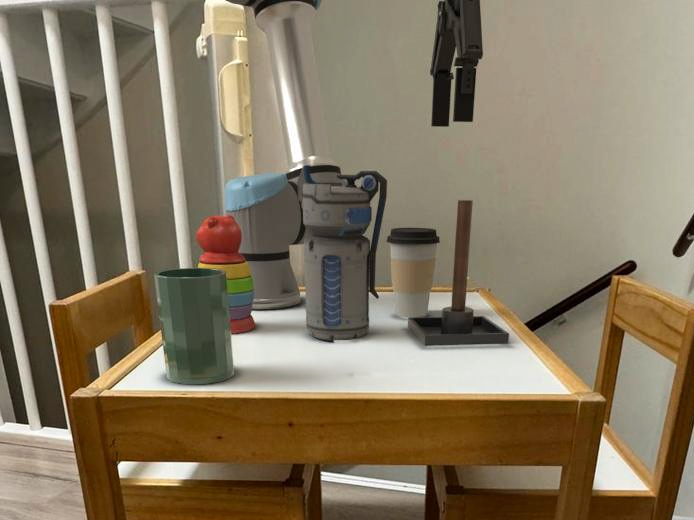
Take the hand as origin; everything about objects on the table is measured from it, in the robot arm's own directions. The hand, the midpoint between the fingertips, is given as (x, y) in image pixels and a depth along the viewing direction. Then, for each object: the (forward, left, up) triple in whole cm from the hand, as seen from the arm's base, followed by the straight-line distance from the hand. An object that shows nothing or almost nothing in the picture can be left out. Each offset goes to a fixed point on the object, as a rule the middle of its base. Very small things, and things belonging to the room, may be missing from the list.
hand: (450, 124), depth 101 cm
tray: (+7, +1, -31) cm, 32 cm away
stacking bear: (-4, -36, -31) cm, 48 cm away
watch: (-16, +8, -31) cm, 36 cm away
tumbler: (+24, -38, -31) cm, 54 cm away
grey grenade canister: (+4, -17, -31) cm, 35 cm away
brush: (+7, +1, -30) cm, 31 cm away
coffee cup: (-10, -3, -31) cm, 33 cm away
